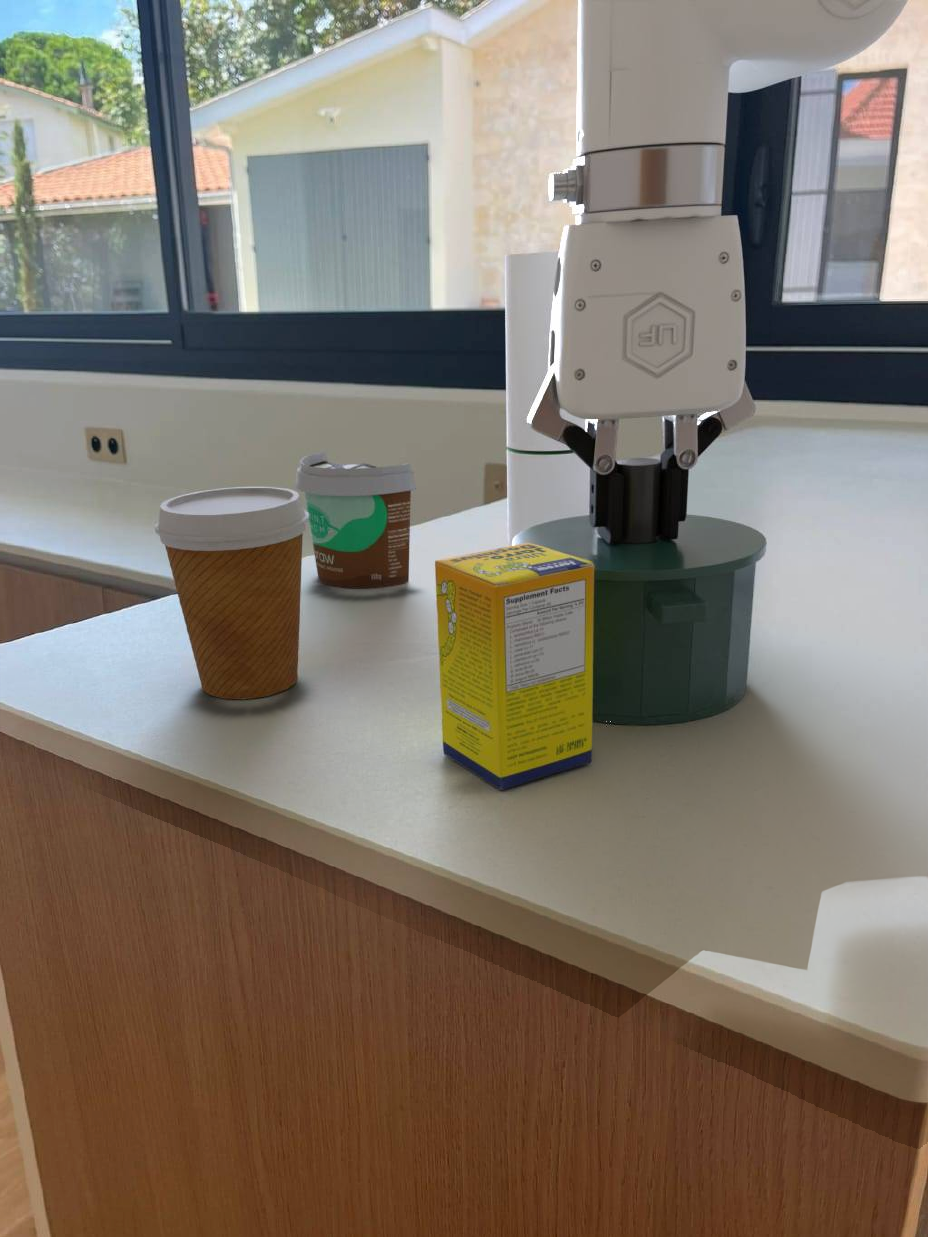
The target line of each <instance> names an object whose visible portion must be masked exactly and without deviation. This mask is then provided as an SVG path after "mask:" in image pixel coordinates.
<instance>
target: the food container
mask: <svg viewBox="0 0 928 1237" xmlns="http://www.w3.org/2000/svg"><path fill="white" fill-rule="evenodd" d="M299 465H300V466H298V467H297V470H296V480H295V489H297V490H298V491H300V492H302V493H303V494H304V500H305V505H306V511H307V512H308V513H309V520H308V524H309V530H310V537H311V541H312V542H311V543H312V548H313V554H314V561H315V567H316V573H317V578H318V581H319V582H321V583H323V584H324V585H328V586H331V587H335V588H336V587H337V588H342V589H343V588H345V589H376V588H384V587H391V586H397V585H402V584H406V583H409V582H410V580H409V579H410V542H411V541H410V539H411V534H410V533H411V496H412V494H411V493H412V491H414V490H417V486H416V480H415V475H414V474H415V473H414V471H412V463H411V462H407V463H402V464H395V465H388V466H387V465H386V466H375V465H373V464H369V463H366V462H362V463H361V462H358V463H349V464H347V463H346V464H345V463H344V464H343V463H336V462H331V461H330V462H329V460H328V452H327V450H326V451H321V452H317V453H313V454H309V455H307V456H304V457H303V458H300V461H299Z"/></svg>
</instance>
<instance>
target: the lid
mask: <svg viewBox="0 0 928 1237" xmlns="http://www.w3.org/2000/svg"><path fill="white" fill-rule="evenodd" d="M616 462H617V463H618V467H617V473H619V474H621V475H622V476H623V479H624V487H623V521H622V540H621V541H619V542H618V543H615V544H608V543H607V542H606V541H605V540H604V539H603V538H602V537H601V536H600V535H599V534H598V530H597V527H592V526H591V524H590V520H589V515H586V516H577V517H571V518H565V519H559V520H554V521H550V522H546V523H542V524H539V525H536V526H533V527H530V528H528V529H526V530H524V531H522V532H520V533H519V534H517V535H516V536H515V538H514V539H513V542H512V546H514V545H519V544H523V543H533V544H536V545H540V546H543V547H546V548H549V549H552V550H555V551H558V552H562V553H565V554H568V555H571V556H575V557H578V558H582V559H585V560H588V561H591V562H593V564H594V580H604V581H631V582H644V581H671V580H683V579H693V578H701V577H708V576H713V575H719V574H724V573H728V572H732V571H736V570H739V569H742V568H745V567H747V566H750V565H752V564H754V563H756V564H757V562H759V561H760V560H761V559H763V558H764V556H765V555H766V553H767V545H768V544H767V538H766V537H765V535H764V534H763V533H762V532H760V531H759V530H757V529H756V528H753V527H751V526H749V525H746V524H743V523H739V522H736V521H732V520H727V519H723V518H718V517H712V516H706V515H698V514H686V519H685V521H680V522H679V526H678V538H677V539H674V540H667V539H666V538H663V537H662V536H661V535H659V528H660V504H661V480H662V461H661V460H660V459H658V458H653V457H652V458H651V457H630V458H623V459H619V460H616Z"/></svg>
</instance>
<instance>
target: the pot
mask: <svg viewBox="0 0 928 1237" xmlns="http://www.w3.org/2000/svg"><path fill="white" fill-rule="evenodd" d="M756 570H757V562H756V563H754V564H752V565H750V566H747V567H745V568H742V569H739V570H736V571H732V572H728V573H724V574H719V575H713V576H708V577H701V578H693V579H683V580H671V581H644V582H631V581H604V580H594V606H593V607H594V613H593V699H592V701H593V705H592V722H595V723H603V724H612V725H613V724H614V725H630V726H638V725H639V726H650V725H669V724H679V723H685V722H691V721H695V720H700V719H704V718H708V717H710V716H714V715H717V714H720V713H722V712H725V711H727V710H729V709H730V708H733V707H734V706H735V705H737V704H738V703H740V701H742V699H743V697H745V695H746V691H747V683H748V673H749V661H750V649H751V637H752V636H751V635H752V622H753V610H754V597H755V596H754V595H755V583H756ZM606 721H607V722H606ZM610 721H611V722H610Z"/></svg>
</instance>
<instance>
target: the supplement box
mask: <svg viewBox="0 0 928 1237" xmlns="http://www.w3.org/2000/svg"><path fill="white" fill-rule="evenodd" d="M434 570H435V572H434V573H435V575H434V576H435V592H436V593H435V594H436V596H435V597H436V614H437V615H436V616H437V618H436V619H437V622H436V623H437V638H438V639H437V642H438V658H439V659H438V664H439V665H438V666H439V686H440V708H441V709H440V710H441V726H442V727H441V731H442V751H443V755H444V756H445V757H447V758H449V759H450V760H452V761H454V762H456V763H457V764H459V765H461V767H463V768H465V769H466V770H468V771H469V772H471V773H472V774H474V775H476V776H477V777H478V778H480V779H482V780H483V781H485V782H487V784H489V785H491V786H493V787H495V788H497V789H498V790H499V791H504V790H507V789H511V788H514V787H517V786H520V785H523V784H525V783H529V782H531V781H534V780H538V779H541V778H544V777H549V776H551V775H554V774H558V773H560V772H565V771H567V770H571V769H573V768H577V767H580V766H583V765H584V766H585V765H588V764H591V763H592V761H593V721H592V705H593V701H592V699H593V613H594V607H593V606H594V564H593V562H591V561H588V560H585V559H582V558H578V557H575V556H571V555H568V554H565V553H562V552H558V551H555V550H552V549H549V548H546V547H543V546H540V545H536V544H533V543H523V544H519V545H514V546H508V545H507V546H504V547H499V548H493V549H489V550H484V551H478V552H474V553H469V554H463V555H458V556H452V557H447V558H441V559H436V560H435V561H434Z"/></svg>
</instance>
